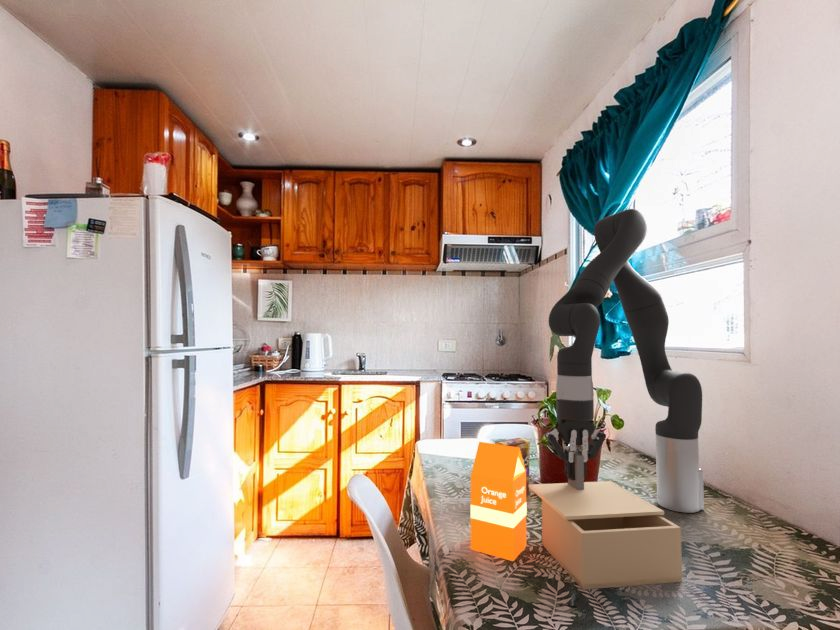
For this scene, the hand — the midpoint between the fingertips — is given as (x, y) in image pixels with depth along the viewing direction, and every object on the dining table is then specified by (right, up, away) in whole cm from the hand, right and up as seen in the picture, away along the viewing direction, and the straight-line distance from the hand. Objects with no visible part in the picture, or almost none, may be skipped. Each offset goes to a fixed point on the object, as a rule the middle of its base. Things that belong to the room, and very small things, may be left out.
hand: (575, 478), depth 93 cm
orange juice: (-17, -11, -6) cm, 22 cm away
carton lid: (+1, -2, -6) cm, 6 cm away
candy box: (-10, -13, +18) cm, 24 cm away
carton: (+2, -11, -12) cm, 16 cm away
